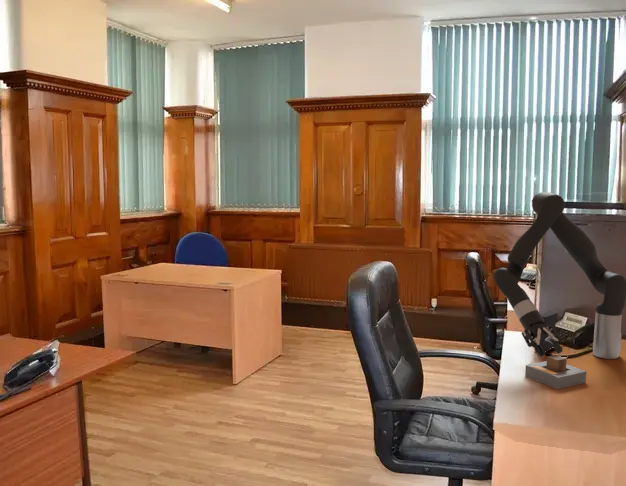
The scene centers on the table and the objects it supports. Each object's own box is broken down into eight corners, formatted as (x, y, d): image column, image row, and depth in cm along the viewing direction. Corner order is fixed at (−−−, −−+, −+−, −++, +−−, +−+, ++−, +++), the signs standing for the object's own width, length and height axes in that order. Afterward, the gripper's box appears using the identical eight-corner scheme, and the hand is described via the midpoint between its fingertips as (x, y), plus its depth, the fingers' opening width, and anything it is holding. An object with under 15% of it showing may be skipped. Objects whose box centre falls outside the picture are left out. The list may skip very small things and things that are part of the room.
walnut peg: (554, 376, 215) (556, 354, 214) (565, 380, 211) (566, 358, 210) (545, 378, 213) (547, 356, 212) (556, 382, 209) (557, 360, 208)
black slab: (545, 346, 251) (547, 310, 249) (555, 348, 248) (557, 312, 246) (533, 351, 243) (535, 315, 242) (543, 354, 240) (545, 317, 238)
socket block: (552, 370, 221) (553, 359, 221) (585, 382, 209) (586, 370, 208) (525, 376, 215) (525, 364, 214) (557, 389, 202) (558, 377, 202)
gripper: (520, 311, 215) (544, 351, 207) (548, 307, 222) (572, 346, 213) (508, 322, 221) (531, 362, 212) (536, 318, 227) (559, 356, 219)
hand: (552, 354), depth 213 cm, fingers open, 8 cm apart
